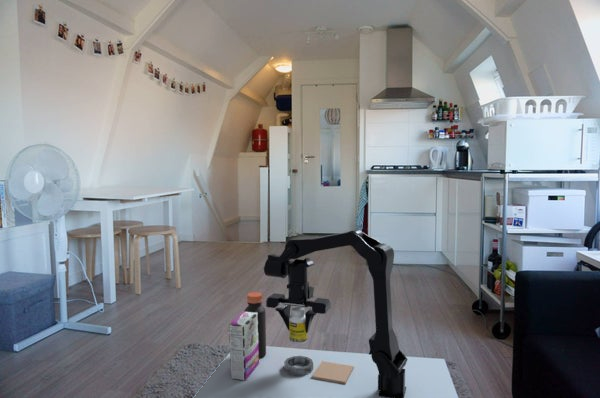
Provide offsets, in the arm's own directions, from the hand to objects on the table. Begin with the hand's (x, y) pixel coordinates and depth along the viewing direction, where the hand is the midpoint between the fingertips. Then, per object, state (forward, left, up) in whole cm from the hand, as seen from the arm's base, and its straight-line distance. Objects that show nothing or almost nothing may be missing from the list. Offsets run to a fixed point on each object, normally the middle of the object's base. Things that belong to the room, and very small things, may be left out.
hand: (298, 331), depth 126 cm
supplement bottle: (0, 0, -3) cm, 3 cm away
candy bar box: (+14, +7, -12) cm, 20 cm away
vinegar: (+16, -4, -12) cm, 21 cm away
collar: (0, 0, -12) cm, 12 cm away
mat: (-11, -1, -12) cm, 16 cm away
